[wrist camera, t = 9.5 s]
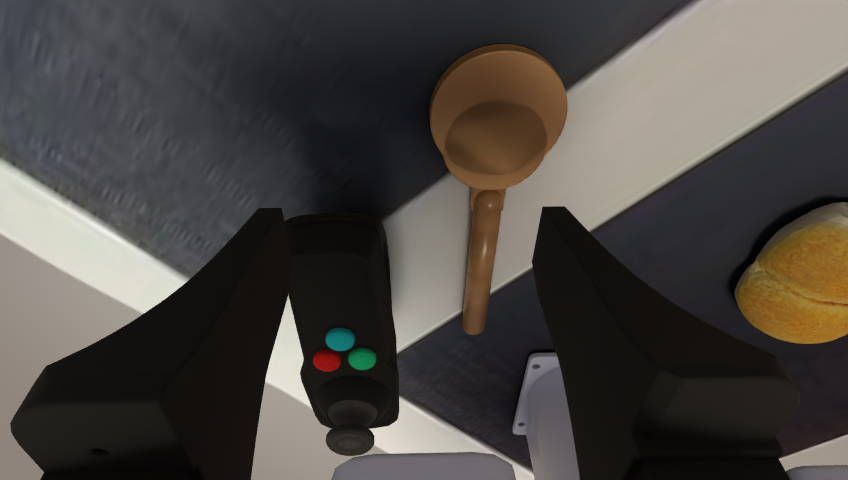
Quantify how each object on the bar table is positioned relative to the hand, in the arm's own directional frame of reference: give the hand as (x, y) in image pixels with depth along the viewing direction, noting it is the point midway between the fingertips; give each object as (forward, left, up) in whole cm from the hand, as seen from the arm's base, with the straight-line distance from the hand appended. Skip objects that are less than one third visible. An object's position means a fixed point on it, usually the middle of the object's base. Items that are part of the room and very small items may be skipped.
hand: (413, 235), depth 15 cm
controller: (-8, +3, -11) cm, 14 cm away
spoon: (-7, -4, -10) cm, 13 cm away
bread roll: (-10, -23, -10) cm, 27 cm away
